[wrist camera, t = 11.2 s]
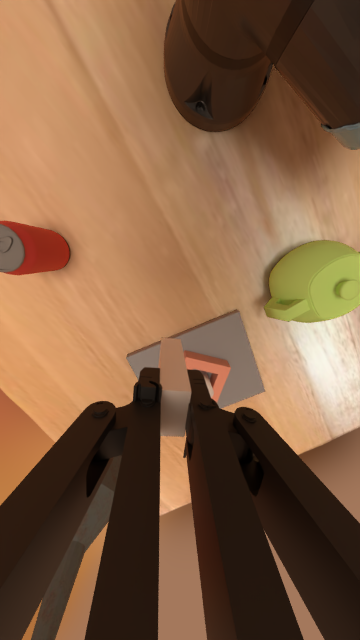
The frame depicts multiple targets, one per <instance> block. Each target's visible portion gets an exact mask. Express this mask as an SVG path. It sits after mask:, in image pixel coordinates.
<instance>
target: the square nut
mask: <svg viewBox="0 0 360 640" xmlns="http://www.w3.org/2000/svg"><path fill="white" fill-rule="evenodd" d="M184 358H185V363H186V368H187V369H190V370H193V369H197V370H202V371H206V372H210V373H212V374H211V377H210V383H211V386H212V388H213V391H214V395H213V397H212V399H213V400H214V401H216V402H217V401H218V399H219V396H220V394H221V391H222V389H223V387H224V384H225V382H226V379H227V377H228V374H229V372H230V369H231V367H230V365H229V363H228V362H227V360H224V359H219V358H215V357H211V356H207V355H203V354H199V353H195V352H190V351H186V350H184Z"/></svg>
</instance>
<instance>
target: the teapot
mask: <svg viewBox="0 0 360 640" xmlns="http://www.w3.org/2000/svg"><path fill="white" fill-rule="evenodd" d="M269 288H270V293H271V296H272V298H271V299H270V300H269V301H268V303H267V304H266V305H265V306H264V310H265V312H266V315H267V317H270V318H275V319H279V320H284V321H288V322H289V321H291V320H293V321H297V322H305V323H311V322H320V321H325V320H330V319H334V318H337V317H340V316H342V315H345V314H347V313H349V312H350V311H352V310H354V309H355V308H356V307H358V306H359V305H360V252H357V251H355V250H354V249H353V248H351V247H349V246H348V245H346V244H343V243H340V242H336V241H329V240H321V241H313V242H309V243H306V244H303V245H301V246H299V247H297V248H295V249H294V250H292V251H290V252H289V253H288V254H286V255H285V256H284V257H283V258H282V259H281V260H280V261H279V262H278V263H277V264H276V266H275V267H274V268H273V270H272V271H271V273H270V278H269Z"/></svg>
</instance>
